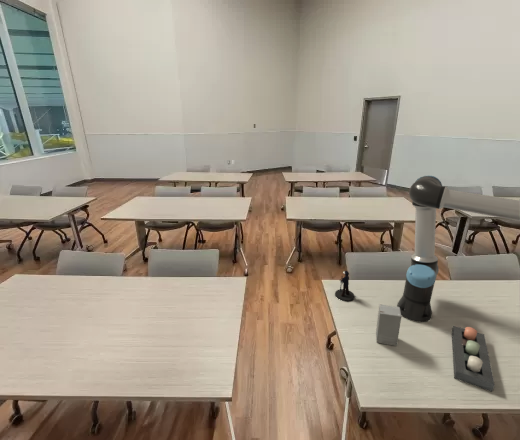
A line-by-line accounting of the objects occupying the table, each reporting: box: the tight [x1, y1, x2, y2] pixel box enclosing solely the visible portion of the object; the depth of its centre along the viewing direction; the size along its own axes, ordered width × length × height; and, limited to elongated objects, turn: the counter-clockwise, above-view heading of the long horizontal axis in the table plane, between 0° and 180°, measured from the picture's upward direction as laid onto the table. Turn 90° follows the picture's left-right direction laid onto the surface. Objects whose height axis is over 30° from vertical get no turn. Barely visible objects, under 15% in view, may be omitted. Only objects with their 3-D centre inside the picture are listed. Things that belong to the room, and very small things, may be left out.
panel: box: [451, 325, 495, 393], centre depth 111 cm, size 11×28×4 cm, turn 149°
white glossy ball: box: [467, 356, 483, 372], centre depth 103 cm, size 4×4×4 cm
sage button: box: [465, 340, 480, 355], centre depth 110 cm, size 4×4×4 cm
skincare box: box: [375, 303, 403, 347], centre depth 119 cm, size 8×7×16 cm
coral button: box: [463, 326, 478, 341], centre depth 118 cm, size 4×4×4 cm
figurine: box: [334, 270, 355, 302], centre depth 150 cm, size 10×10×15 cm
